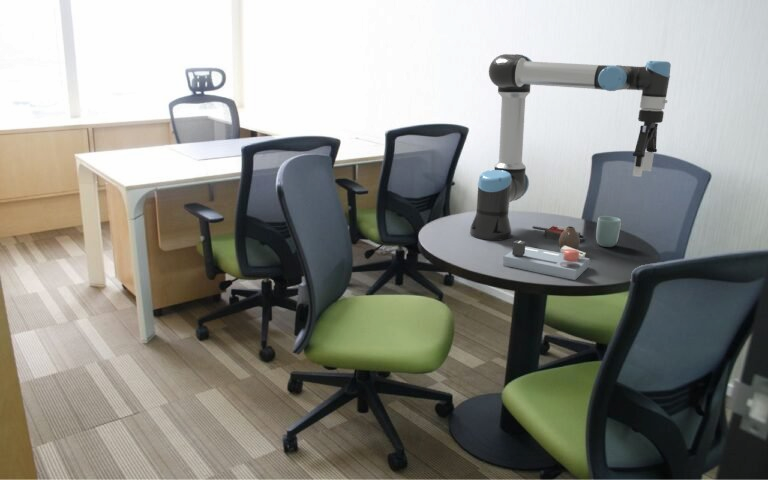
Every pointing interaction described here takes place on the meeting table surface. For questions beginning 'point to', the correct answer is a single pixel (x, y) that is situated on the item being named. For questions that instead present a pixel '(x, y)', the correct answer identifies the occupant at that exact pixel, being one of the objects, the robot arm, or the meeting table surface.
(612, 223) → the cup
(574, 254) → the button
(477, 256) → the meeting table surface
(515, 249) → the slider
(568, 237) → the vase
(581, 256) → the rocker
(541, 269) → the console
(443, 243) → the meeting table surface
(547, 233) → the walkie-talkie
